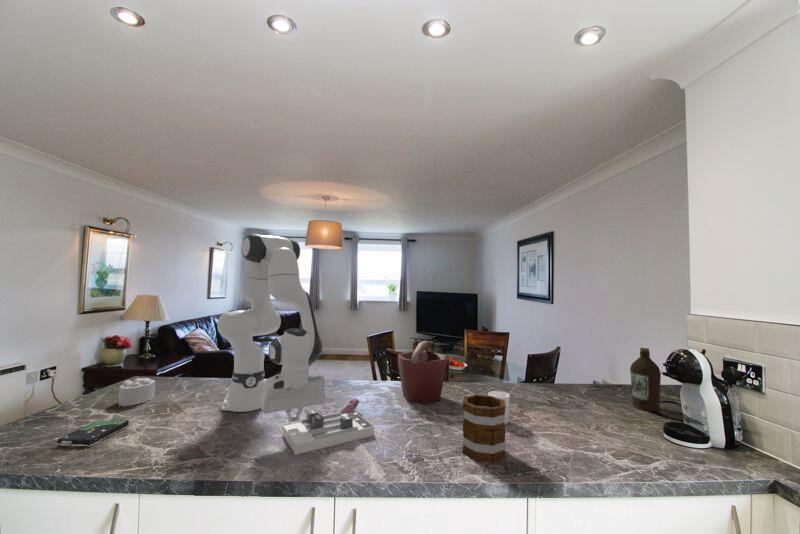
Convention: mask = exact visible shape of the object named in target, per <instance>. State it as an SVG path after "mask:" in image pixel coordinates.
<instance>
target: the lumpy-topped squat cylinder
mask: <svg viewBox="0 0 800 534" xmlns="http://www.w3.org/2000/svg"><path fill="white" fill-rule="evenodd" d="M155 389H156V380H155V379H151V378H149V377H142V378H141V377H140V378H135V379H134V380H130V379H127V380H124V382H123V383H122V384H121V385H120V386H119V389H118V390H119V392H118V404H119V405H121V406H129V405H135V404H140V403H143V402H146V401H148V400H150V399H152V398H153V399H155V393H156V391H155ZM153 399H152V400H153ZM150 401H151V400H150ZM148 402H149V401H148ZM146 403H147V402H146ZM143 404H144V403H143ZM119 405H118V406H119ZM140 405H141V404H140Z"/></svg>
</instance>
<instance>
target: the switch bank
mask: <svg viewBox="0 0 800 534" xmlns="http://www.w3.org/2000/svg"><path fill="white" fill-rule="evenodd" d="M347 415H349V416H351V417H352V418H353V427H352V428H347V429H343V430H342V429H341V428H340V418H341V417H342V416H347ZM322 416H323V417H324V425H323V427H322V428H317V429H313V428H312V427H311V425H312V423H310V424H308V422H307V417H306V418H301V422H296V423H291V424H285V425H283V427H282V428H283V429H282V435H283V438H284V439H285V440H286V442H287V444H288V446H289V447H290V449H291V450H292V451H293V454H294V455H295V456H297V455H301V454H305V453H309V452H314V451H317V450H320V449H325V448H329V447H334V446H337V445H340V444H346V443H349V442H353V441H354V442H355V441H357V440H361V439H364V438H369V437H374V436H375V426H374V425H373V424H372V423H371V422H370V421H368V420H367V419H366V418H364V417H363V416H362V415H361V414H359V413H358V412H356V411H354V412H351V413H346V414H341V412H340V411H337V412H333V413H329V414H322Z"/></svg>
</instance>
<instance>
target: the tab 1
mask: <svg viewBox="0 0 800 534" xmlns="http://www.w3.org/2000/svg"><path fill="white" fill-rule="evenodd" d="M315 415H320V414H319V411H317V409H313V410H312V409H311V410H307V411H306V418H307V422H308V424H310V423H312V416H315Z"/></svg>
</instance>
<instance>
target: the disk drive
mask: <svg viewBox="0 0 800 534" xmlns="http://www.w3.org/2000/svg"><path fill="white" fill-rule="evenodd" d="M129 421H130V420H129V419H128V420H126V419H113V420H103V419H100V420H97V421H94V422H92V423H90V424H87V425H85V426H83V427H80V428H79V429H77V430H74V431H72V432H70V433H67V434H66V435H63V436H61V437H59V438H58V439H57V442H56V444H57V443H69V444H83V445H84V444H86V445H91V444H93V443H95V442H97V441H99V440H100V439H102V438H104V437H106V436H108V435H110V434H112V433H114V432H116V431H118V430H120V429H122V428H124V427H126V426H127V425H129V424H130V422H129Z"/></svg>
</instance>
